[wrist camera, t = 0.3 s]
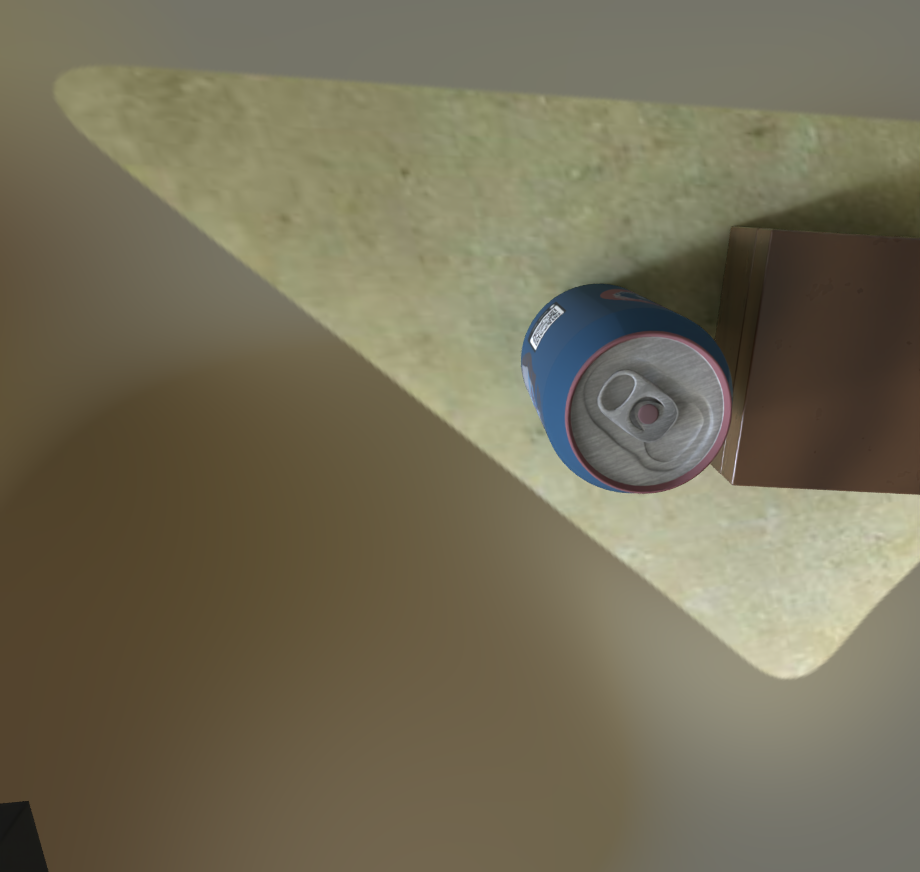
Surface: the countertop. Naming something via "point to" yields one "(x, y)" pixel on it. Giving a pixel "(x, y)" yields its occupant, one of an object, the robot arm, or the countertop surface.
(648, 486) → the soda can
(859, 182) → the countertop surface
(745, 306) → the walnut wood chunk
